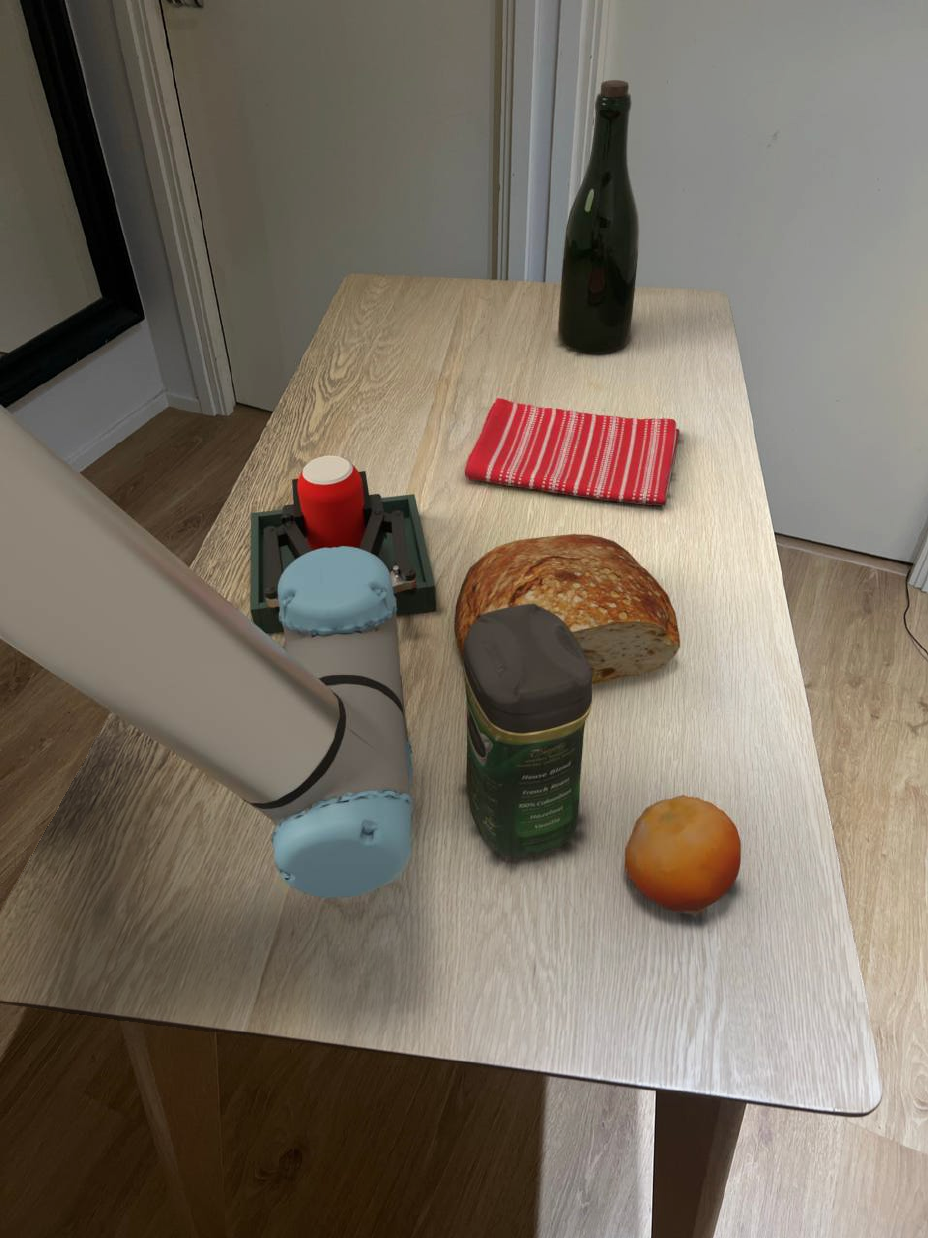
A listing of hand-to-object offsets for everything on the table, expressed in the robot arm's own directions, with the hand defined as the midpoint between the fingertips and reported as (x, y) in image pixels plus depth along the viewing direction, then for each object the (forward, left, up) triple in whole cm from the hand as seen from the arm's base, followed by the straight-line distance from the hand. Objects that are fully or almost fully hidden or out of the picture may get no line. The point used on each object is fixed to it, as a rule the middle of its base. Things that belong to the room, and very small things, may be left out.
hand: (330, 486), depth 91 cm
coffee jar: (+12, -37, -8) cm, 40 cm away
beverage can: (0, -5, -7) cm, 8 cm away
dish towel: (+29, +11, -8) cm, 32 cm away
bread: (+20, -18, -8) cm, 28 cm away
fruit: (+22, -45, -8) cm, 51 cm away
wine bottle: (+40, +41, -8) cm, 58 cm away
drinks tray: (0, -5, -7) cm, 9 cm away
